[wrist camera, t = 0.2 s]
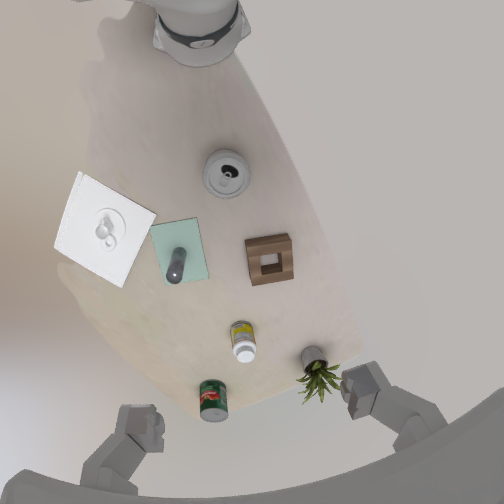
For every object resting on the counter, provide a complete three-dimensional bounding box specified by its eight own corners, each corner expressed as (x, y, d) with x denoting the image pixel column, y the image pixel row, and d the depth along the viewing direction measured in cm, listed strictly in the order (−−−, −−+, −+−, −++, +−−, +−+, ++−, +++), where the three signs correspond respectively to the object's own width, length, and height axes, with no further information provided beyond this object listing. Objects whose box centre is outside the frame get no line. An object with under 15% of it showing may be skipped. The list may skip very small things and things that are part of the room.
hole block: (244, 239, 59) (246, 247, 55) (286, 233, 59) (291, 240, 56) (250, 276, 63) (252, 286, 59) (289, 270, 63) (293, 278, 59)
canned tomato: (216, 397, 79) (218, 425, 69) (194, 389, 77) (194, 417, 67) (230, 384, 77) (233, 413, 67) (208, 375, 75) (209, 405, 65)
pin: (171, 248, 57) (164, 270, 48) (185, 245, 57) (180, 268, 48) (174, 261, 58) (168, 285, 49) (188, 258, 58) (183, 282, 49)
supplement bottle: (244, 339, 70) (249, 368, 61) (226, 332, 68) (228, 360, 59) (256, 325, 69) (263, 353, 59) (238, 316, 67) (242, 345, 57)
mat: (149, 226, 55) (149, 226, 54) (196, 217, 55) (196, 218, 55) (165, 284, 61) (165, 285, 60) (208, 277, 61) (209, 278, 61)
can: (250, 159, 52) (260, 166, 41) (232, 192, 54) (237, 209, 43) (215, 142, 50) (216, 145, 39) (198, 177, 52) (194, 189, 41)
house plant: (275, 346, 73) (288, 393, 58) (321, 324, 71) (343, 367, 57) (293, 373, 79) (307, 415, 64) (334, 354, 77) (354, 394, 63)
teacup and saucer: (116, 253, 56) (110, 261, 52) (87, 236, 53) (79, 242, 50) (131, 219, 53) (125, 225, 49) (100, 201, 51) (92, 206, 47)
